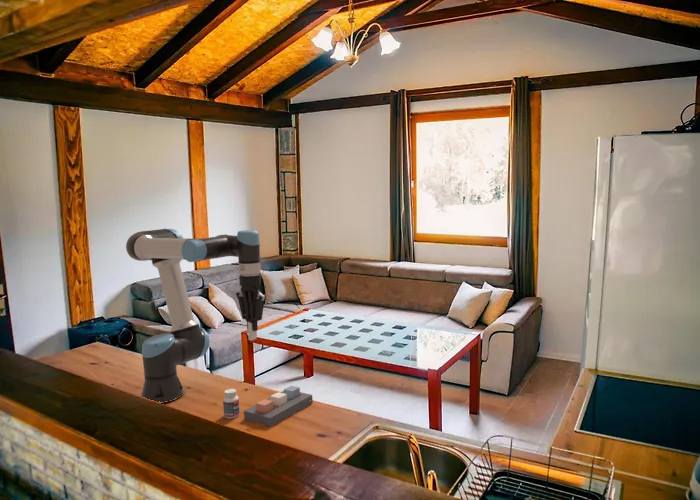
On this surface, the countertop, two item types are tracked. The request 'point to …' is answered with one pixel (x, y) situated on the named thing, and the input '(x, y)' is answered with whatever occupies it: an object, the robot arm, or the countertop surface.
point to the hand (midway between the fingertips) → (252, 339)
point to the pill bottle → (231, 404)
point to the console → (278, 410)
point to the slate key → (292, 392)
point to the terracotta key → (264, 406)
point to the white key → (279, 399)
